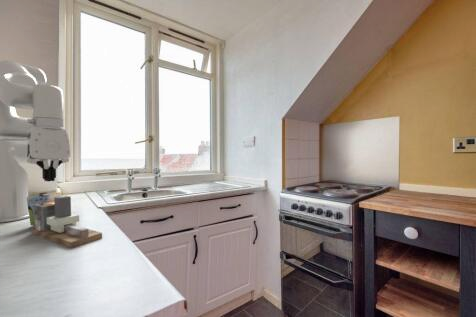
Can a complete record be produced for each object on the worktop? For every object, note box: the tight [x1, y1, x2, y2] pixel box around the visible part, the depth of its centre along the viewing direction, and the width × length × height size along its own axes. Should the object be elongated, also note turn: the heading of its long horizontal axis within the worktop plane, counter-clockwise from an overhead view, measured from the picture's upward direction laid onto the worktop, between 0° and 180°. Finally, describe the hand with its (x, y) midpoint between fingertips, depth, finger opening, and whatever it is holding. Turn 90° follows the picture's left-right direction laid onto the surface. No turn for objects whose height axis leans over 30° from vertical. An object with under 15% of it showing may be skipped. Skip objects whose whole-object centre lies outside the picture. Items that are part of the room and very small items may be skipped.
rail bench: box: [30, 201, 103, 249], centre depth 68 cm, size 25×8×9 cm, turn 62°
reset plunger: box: [43, 201, 55, 206], centre depth 72 cm, size 4×4×2 cm
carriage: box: [47, 195, 80, 233], centre depth 68 cm, size 6×6×10 cm
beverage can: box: [27, 191, 51, 227], centre depth 78 cm, size 6×7×12 cm
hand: (49, 180), depth 72 cm, fingers closed
